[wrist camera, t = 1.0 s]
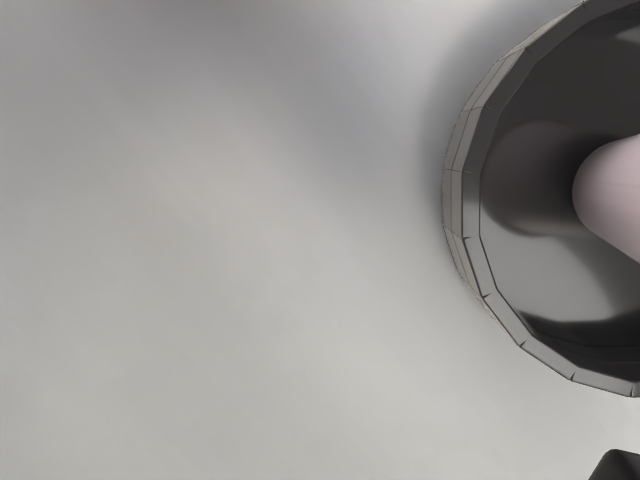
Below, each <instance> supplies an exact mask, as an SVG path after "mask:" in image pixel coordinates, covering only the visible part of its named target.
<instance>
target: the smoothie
mask: <svg viewBox="0 0 640 480" xmlns="http://www.w3.org/2000/svg"><path fill="white" fill-rule="evenodd" d="M572 199H573V205H574V208H575V211H576V213H577V215H578V217H579V219H580V220H581V222H582V223H583V224H584V225H585V226H586V227H587V228H588V229H589V230H590V231H592V232H593V233H595V234H596V235H598V236H599V237H601V238H602V239H604V240H605V241H607V242H608V243H610V244H611V245H613V246H614V247H616V248H617V249H619V250H620V251H622V252H623V253H625V254H626V255H628V256H629V257H631V258H632V259H634V260H635V261H637V262H638V263H640V134H638V135H634V136H631V137H627V138H624V139H620V140H616V141H613V142H610V143H607V144H605V145H603V146H601V147H599V148H598V149H596V150H595V151H593V152H592V153H591V154H590V155H589V156H588V157H587V158H586V159H585V160H584V161H583V163H582V164H581V166H580V167H579V169H578V171H577V173H576V176H575V178H574V182H573V188H572Z"/></svg>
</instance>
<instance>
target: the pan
mask: <svg viewBox="0 0 640 480" xmlns="http://www.w3.org/2000/svg"><path fill="white" fill-rule="evenodd" d="M638 134H640V0H586V1H584V2H582V3H580V4H578V5H577V6H575V7H573V8H572V9H570V10H568V11H566V12H565V13H563V14H561V15H560V16H558V17H556V18H554V19H553V20H551V21H549V22H548V23H546V24H544V25H543V26H541V27H540V28H539V29H537V30H536V31H535V32H534V33H532V34H531V35H530V36H528V37H527V38H526V39H525V40H523V41H522V42H521V43H519V44H518V45H517V46H515V47H514V48H512V49H511V50H510V51H509V52H508V53H507V54H505V55H504V56H503V57H502V58H500V59H499V60H498V61H497V62H496V63H495V64H494V65H493V66H492V68H491V69H490V71H489V72H488V73H487V75H486V76H485V77H484V78H483V79H482V81H481V82H480V83H479V84H478V86H477V87H476V89H475V90H474V92H473V93H472V95H471V97H470V98H469V100H468V101H467V103H466V104H465V106H464V108H463V109H462V111H461V113H460V115H459V118H458V121H457V123H456V125H455V127H454V130H453V133H452V136H451V139H450V142H449V145H448V148H447V152H446V157H445V162H444V165H443V172H442V187H441V204H442V218H443V224H444V225H443V227H444V230H445V233H446V238H447V242H448V245H449V247H450V250H451V253H452V256H453V259H454V261H455V263H456V266H457V269H458V271H459V274H460V275H461V278H462V279H463V281H464V282H465V283H466V285H467V286H468V287H469V288H470V290H471V291H472V292H473V294H474V295H475V296H476V298H477V299H478V300H479V301H480V303H481V304H482V305H483V307H484V308H485V309H486V311H487V312H488V313H489V315H490V316H491V317H492V318H493V319H494V320H495V321H496V323H497V324H498V325H499V326H500V327H501V328H502V329H503V330H504V331H505V332H506V333H507V335H508V336H509V337H510V338H511V339H512V340H513V341H514V342H515V343H516V344H517V345H518V346H519V347H520V348H521V349H523V350H524V351H526V352H527V353H529V354H530V355H532V356H533V357H535V358H536V359H538V360H539V361H541V362H542V363H544V364H545V365H547V366H548V367H550V368H551V369H553V370H554V371H555V372H557V373H558V374H560V375H561V376H563V377H564V378H566V379H568V380H570V381H572V382H576V383H579V384H583V385H586V386H590V387H593V388H597V389H601V390H604V391H608V392H611V393H615V394H618V395H622V396H625V397H632V398H636V397H640V263H638V262H637V261H635V260H634V259H632V258H631V257H629V256H628V255H626V254H625V253H623V252H622V251H620V250H619V249H617V248H616V247H614V246H613V245H611V244H610V243H608V242H607V241H605V240H604V239H602V238H601V237H599V236H598V235H596V234H595V233H593V232H592V231H590V230H589V229H588V228H587V227H586V226H585V225H584V224H583V223H582V222H581V220H580V219H579V217H578V215H577V213H576V211H575V208H574V205H573V199H572V188H573V182H574V178H575V176H576V173H577V171H578V169H579V167H580V166H581V164H582V163H583V161H584V160H585V159H586V158H587V157H588V156H589V155H590V154H591V153H592V152H593V151H595V150H596V149H598V148H599V147H601V146H603V145H605V144H607V143H610V142H613V141H616V140H620V139H624V138H627V137H631V136H634V135H638Z"/></svg>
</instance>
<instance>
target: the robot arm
mask: <svg viewBox="0 0 640 480" xmlns="http://www.w3.org/2000/svg"><path fill="white" fill-rule="evenodd" d="M588 480H640V455H639V454H635V453H631V452H627V451H622V450H618V449H612V450H609V451H608V452H606V453H605V454H604V456H603V457H602V459H601V460H600V462H599V464H598V465H597V467H596V468H595V470H594V471H593V473H592V475H591V476H590V478H589V479H588Z"/></svg>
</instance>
